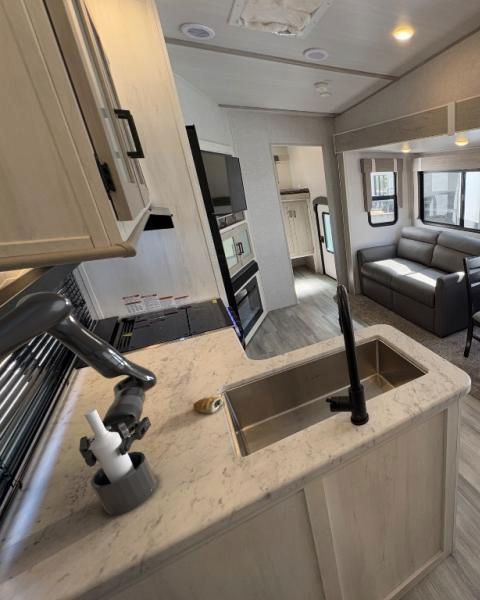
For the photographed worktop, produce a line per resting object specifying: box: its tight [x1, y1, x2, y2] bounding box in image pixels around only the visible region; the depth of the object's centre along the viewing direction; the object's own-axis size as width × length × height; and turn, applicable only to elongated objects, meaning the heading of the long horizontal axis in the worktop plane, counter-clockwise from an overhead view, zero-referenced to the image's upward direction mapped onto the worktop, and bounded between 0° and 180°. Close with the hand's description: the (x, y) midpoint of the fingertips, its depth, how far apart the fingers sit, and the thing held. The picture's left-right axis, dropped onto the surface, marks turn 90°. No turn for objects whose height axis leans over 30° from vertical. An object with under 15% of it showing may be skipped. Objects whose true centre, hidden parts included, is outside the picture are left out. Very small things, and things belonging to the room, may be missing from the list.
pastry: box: [192, 395, 224, 414], centre depth 109 cm, size 9×7×4 cm
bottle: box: [83, 407, 135, 484], centre depth 73 cm, size 5×5×25 cm
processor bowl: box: [90, 451, 158, 516], centre depth 77 cm, size 10×10×9 cm
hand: (106, 457), depth 71 cm, fingers closed on bottle, 5 cm apart
